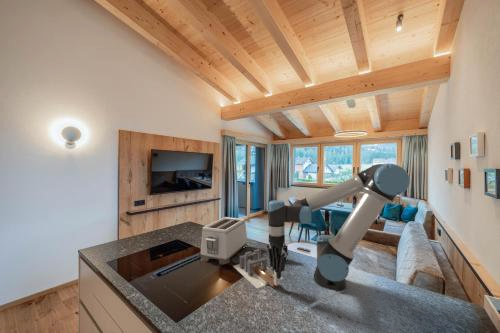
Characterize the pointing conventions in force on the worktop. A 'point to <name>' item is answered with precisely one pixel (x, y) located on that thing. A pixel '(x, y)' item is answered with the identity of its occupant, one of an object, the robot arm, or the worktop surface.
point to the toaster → (223, 239)
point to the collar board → (252, 278)
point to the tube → (264, 275)
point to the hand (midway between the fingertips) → (277, 283)
